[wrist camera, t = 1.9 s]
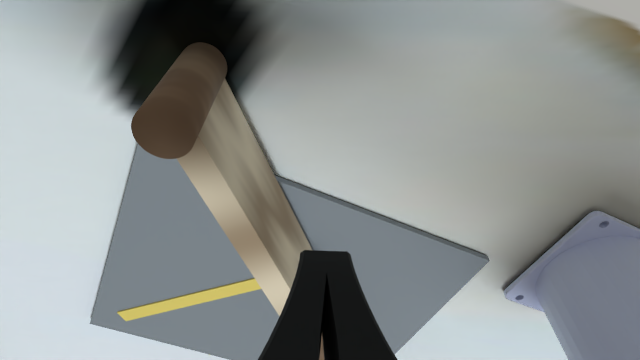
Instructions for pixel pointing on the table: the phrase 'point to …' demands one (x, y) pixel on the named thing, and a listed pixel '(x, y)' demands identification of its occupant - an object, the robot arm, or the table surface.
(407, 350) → the table surface
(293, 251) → the wooden plank
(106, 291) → the board
